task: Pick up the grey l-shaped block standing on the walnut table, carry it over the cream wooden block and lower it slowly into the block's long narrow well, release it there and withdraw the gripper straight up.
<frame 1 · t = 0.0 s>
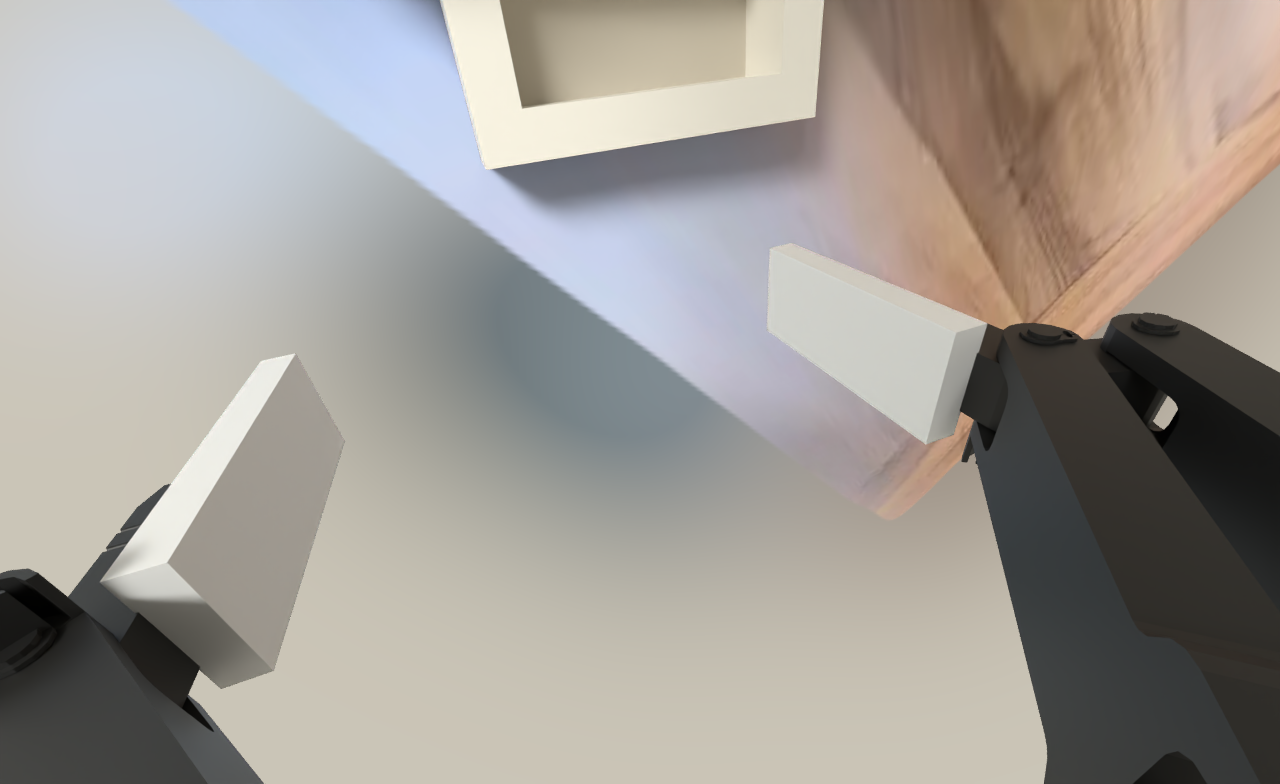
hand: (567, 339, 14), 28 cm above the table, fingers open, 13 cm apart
well block: (625, 25, 34), on the table
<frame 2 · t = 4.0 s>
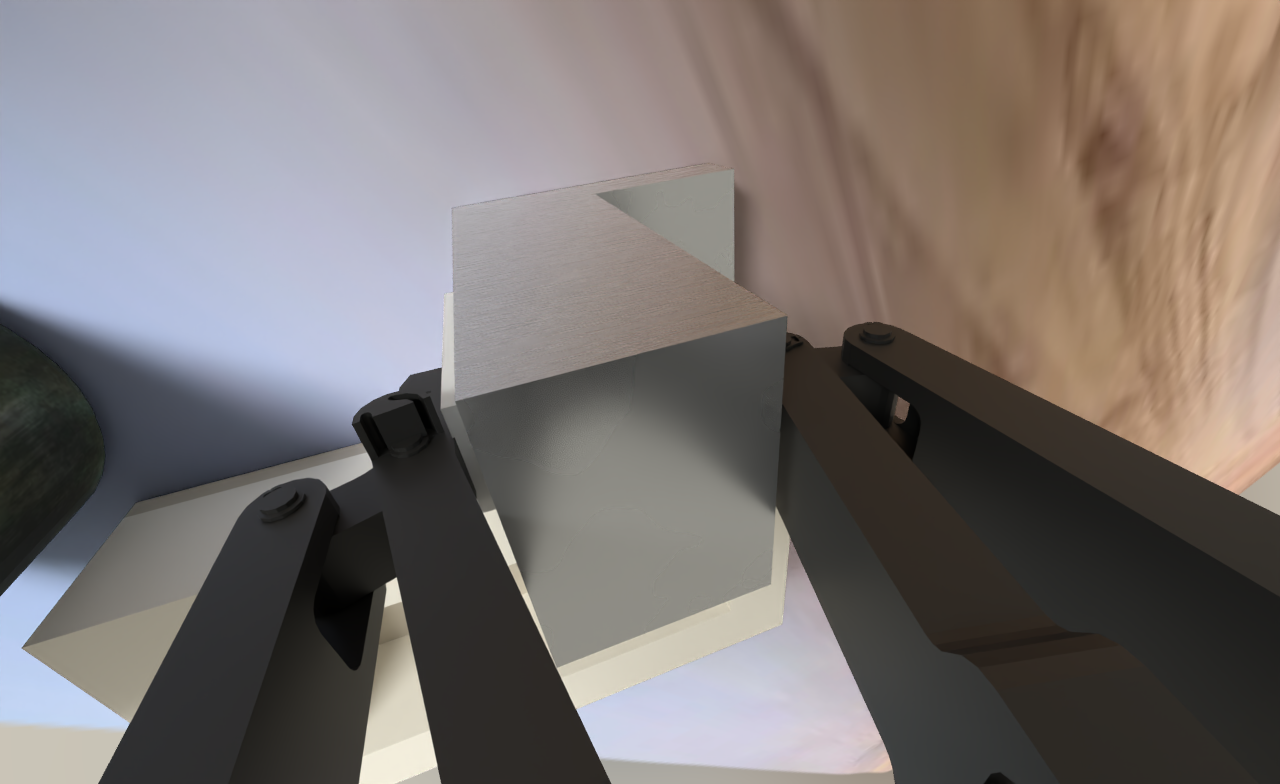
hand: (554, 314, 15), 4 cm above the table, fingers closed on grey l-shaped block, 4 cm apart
well block: (511, 528, 24), on the table
grey l-shaped block: (537, 279, 18), on the table, touching gripper
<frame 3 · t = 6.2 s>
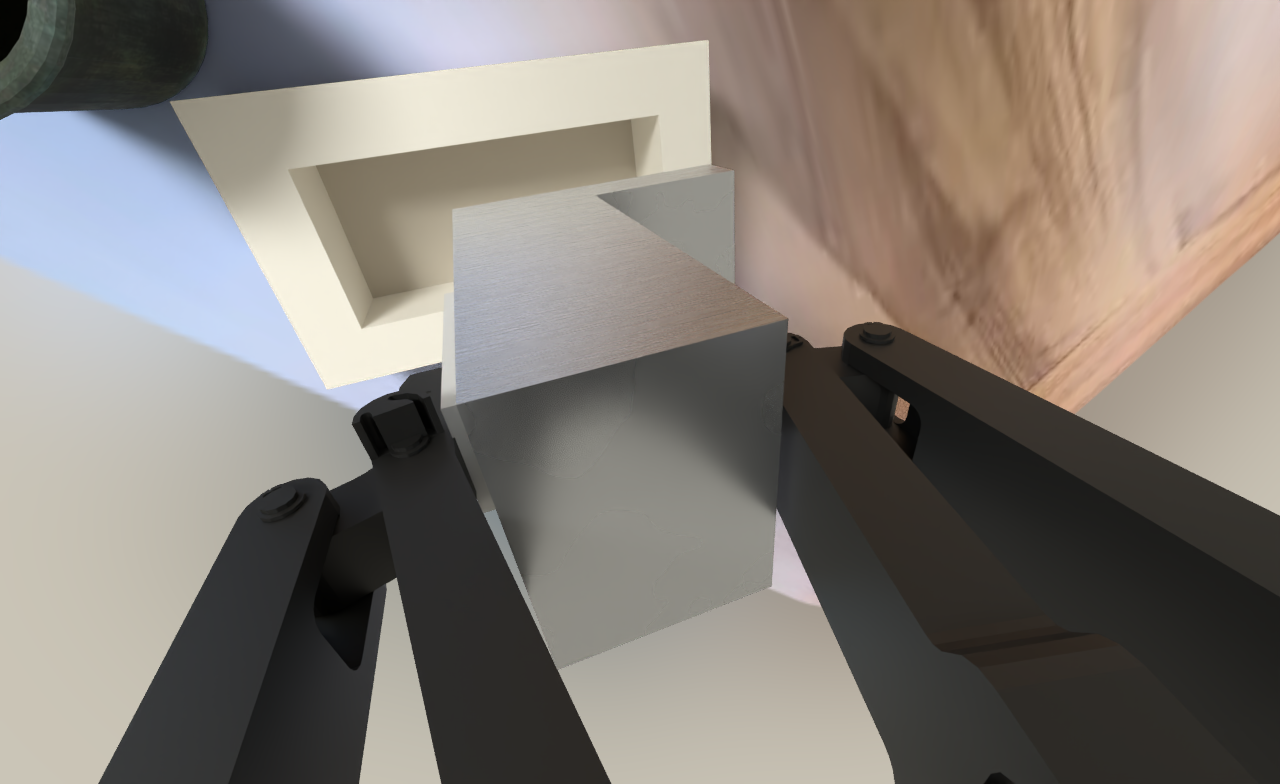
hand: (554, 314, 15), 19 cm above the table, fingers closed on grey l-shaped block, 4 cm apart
well block: (499, 203, 31), on the table
grey l-shaped block: (537, 280, 18), point 15 cm above the table, touching gripper
when the fingers open (6 cm above the table, at t = 8.4 s): grey l-shaped block drops 1 cm, resting on well block.
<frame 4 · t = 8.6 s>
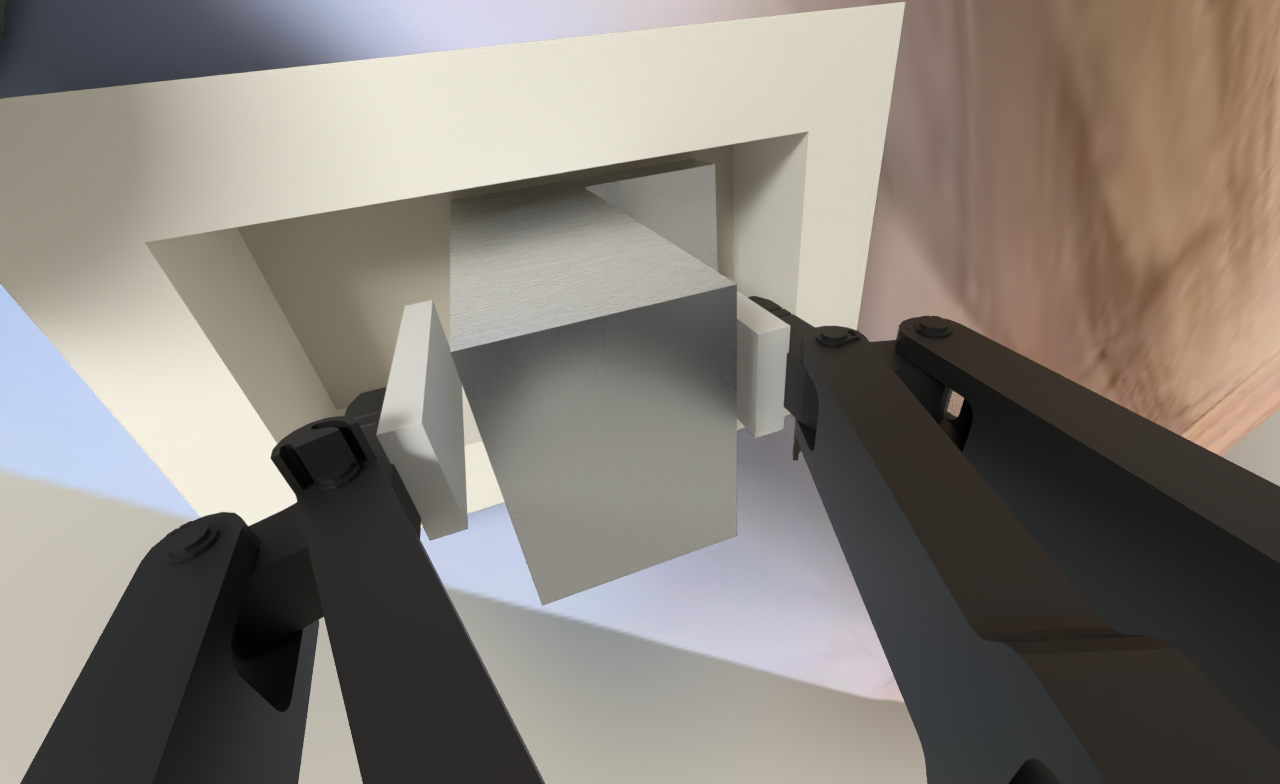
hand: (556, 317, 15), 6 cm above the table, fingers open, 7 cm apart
well block: (529, 264, 20), on the table
grey l-shaped block: (531, 268, 20), point 1 cm above the table, touching well block
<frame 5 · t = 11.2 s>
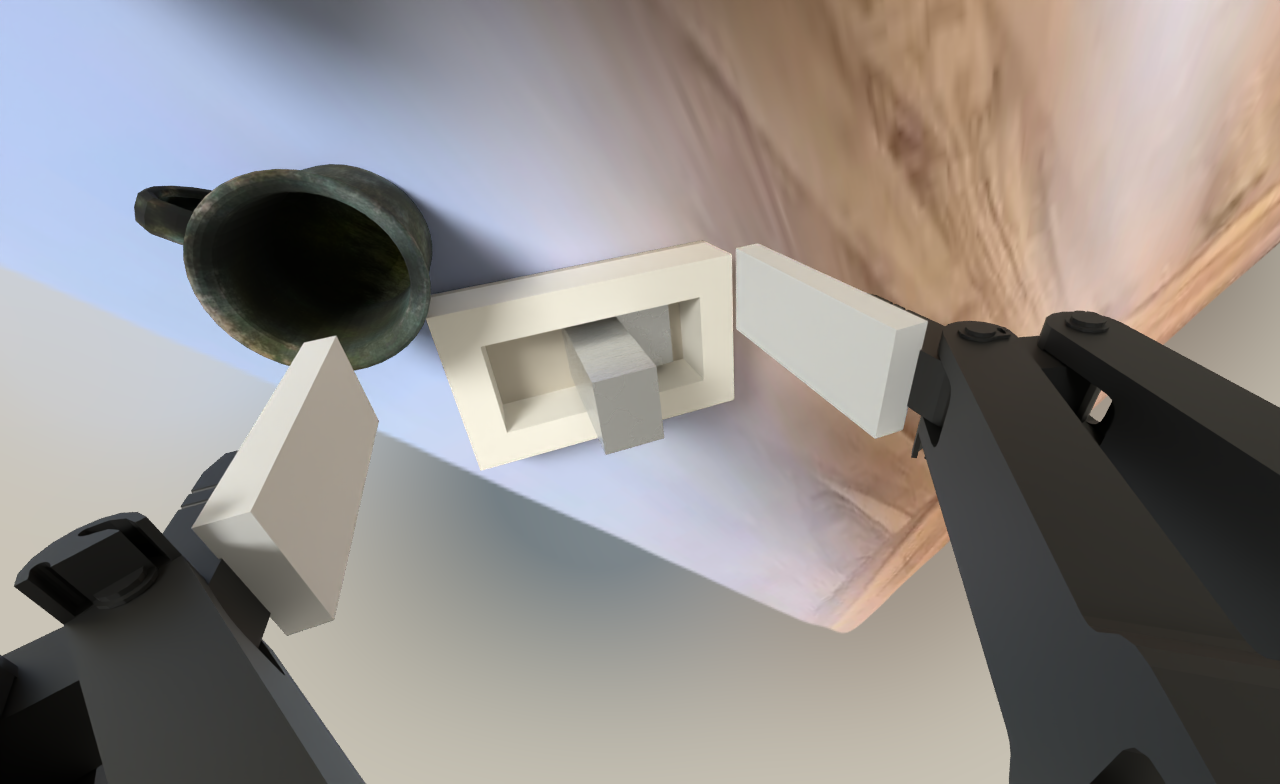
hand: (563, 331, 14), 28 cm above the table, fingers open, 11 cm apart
well block: (588, 339, 45), on the table
grey l-shaped block: (589, 342, 45), point 1 cm above the table, touching well block
mug: (331, 229, 35), on the table
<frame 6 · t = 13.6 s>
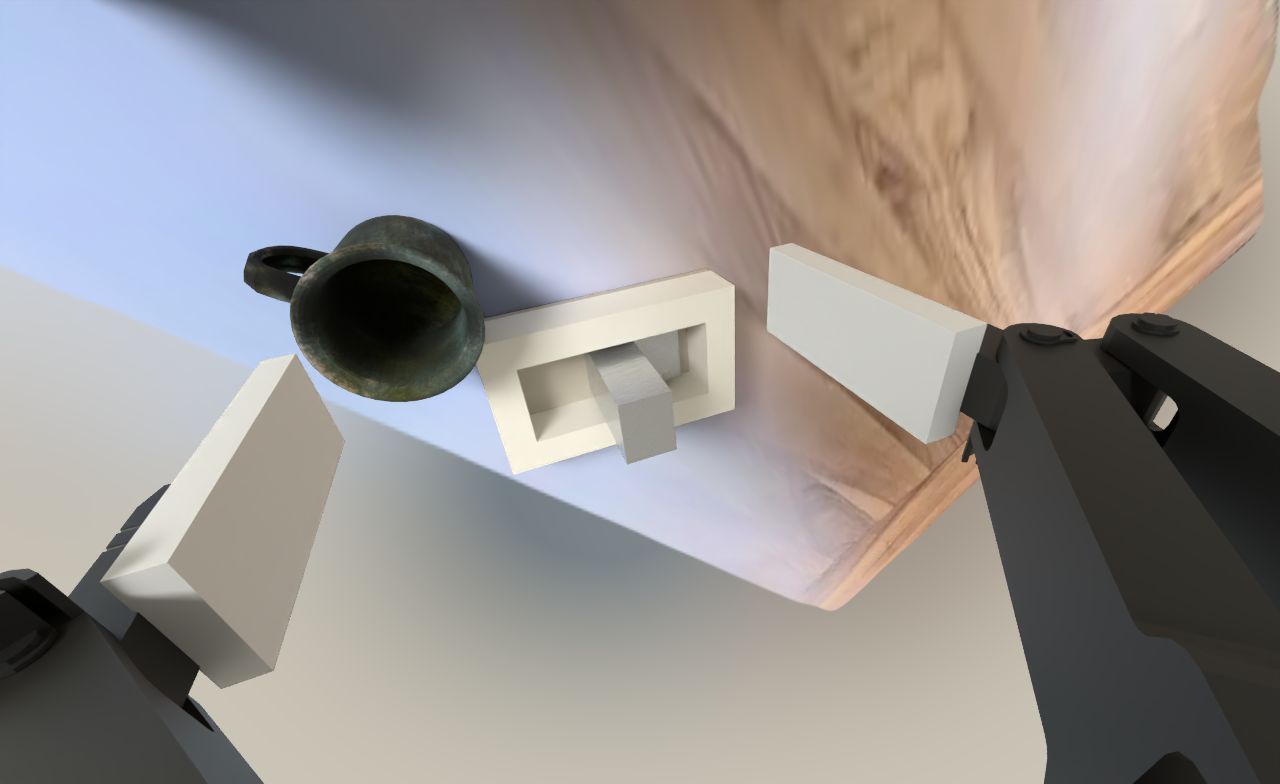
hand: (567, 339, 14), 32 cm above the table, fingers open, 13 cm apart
well block: (605, 356, 51), on the table
grey l-shaped block: (606, 359, 50), point 1 cm above the table, touching well block
mug: (385, 268, 40), on the table
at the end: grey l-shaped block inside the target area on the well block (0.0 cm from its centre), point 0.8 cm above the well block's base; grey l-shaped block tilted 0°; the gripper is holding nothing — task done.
